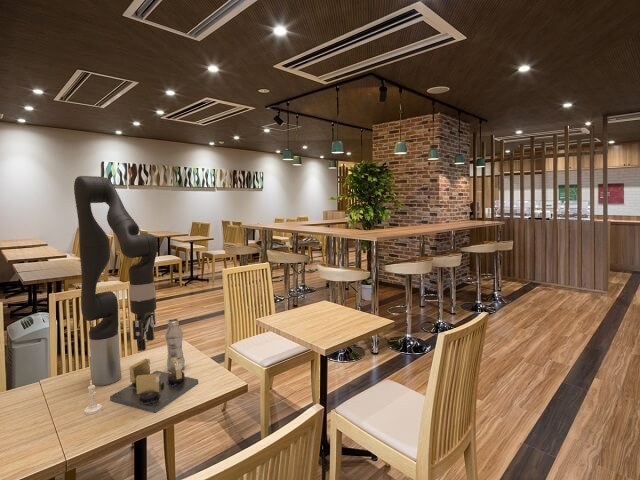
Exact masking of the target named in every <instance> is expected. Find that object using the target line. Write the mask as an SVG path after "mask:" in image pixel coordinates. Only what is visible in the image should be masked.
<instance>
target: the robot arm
mask: <svg viewBox="0 0 640 480" xmlns="http://www.w3.org/2000/svg"><path fill="white" fill-rule="evenodd" d="M73 182H74V184H73V193H74V199H75V200H74V201H75V208H76V213H77V222H78V240H79V241H78V242H79V243H78V245H79V247H78V248H79V258H80V260H79V261H80V269H81V272H80V273H81V289H80V290H81V291H80V292H81V293H80V309H81V314H82V317H83V319H84V320H85V321H88V322H92V321H93V322H94V321H97V320H100V321H99V323H97V324H95V326H93V327H91V328H90V329H89V331H88V339H89V351H90V356H89V369H90V370H89V371H90V380H92V385H95V386H99V387H100V386H107V385H108V386H109V385H111V384H113V383H114V384H115V383H116V382H118V381H119V380H121V378H122V367H121V355H120V354H121V353H120V341H119V326H120V325H119V303H118V298H117V296H116V294H115V292H114V291H109V290H108V291H103V292H98V293H97V291H96V290H97V285H98V281H99V279H100V277H101V276H102V274H103V272H104V270H105V269H106V267H107V265H108V263H109V261H110V259H111V244H110V239H109V236H108V235H107V233H106V232H105V230H104V229H103V228H102V227H101V226H100V225H99V223H98V222H97V220H96V219H95V216H94V214H93V211H92V205H91V204H101V203H102V204H103V203H105V204H107V206H108V211H107V214H106V221H107V224H108V226H109V227H110V229H111V230H112V231H113V233H114V234H115V236H116V237H117V238H116V239H117V241H118V244H119V248H120V252H121V254H122V255H123V256H124V257H127V258H129V259H134V258H135V259H136V258H140V261H139V262H138V263H135V264H133V265H130V267H129V268H128V276H129V277H128V278H129V279H128V281H129V289H128V291H129V292H128V293H129V305H130V313H132V314H135V315H136V319H134V320H132V333H133V335H132V336H133V337H132V338H133V340H135V341H136V344H137V346H136V347H137V351H138V352H142V351H145V350H146V347H147V346H146V341H153V340H154V338H155V336H154V334H155V333H154V329H155V326H156V314H155V313H156V312H155V311H156V310H157V294H156V287H155V286H156V285H155V280H154V278H155V277H154V267H155V262H156V257H157V254H158V247H159V246H158V241H157V239H156V237H155V236H154V235H153V234H151V233H144V234H139V233H140V227H139V225H138V224H137V222H136V221H135V220H134V218H133V217H132V216H131V215H130V214H129V212H128V211H127V209H126V208H125V206H124V204H123V202H122V200H121V198H120V195H119V193H118V192H117V189H116V188H115V185H114V184H113V183H112V181H111V180H110V179H109V178H108V177H104V176H97V175H96V176H95V175H93V176H91V175H79V176H77V177H76V178H75V180H74V181H73Z"/></svg>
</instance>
